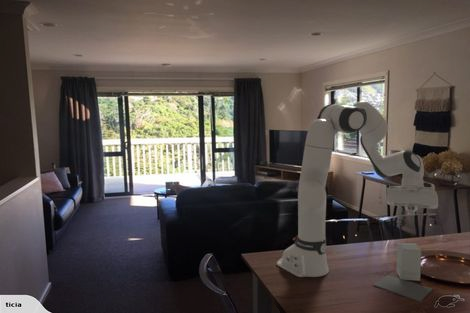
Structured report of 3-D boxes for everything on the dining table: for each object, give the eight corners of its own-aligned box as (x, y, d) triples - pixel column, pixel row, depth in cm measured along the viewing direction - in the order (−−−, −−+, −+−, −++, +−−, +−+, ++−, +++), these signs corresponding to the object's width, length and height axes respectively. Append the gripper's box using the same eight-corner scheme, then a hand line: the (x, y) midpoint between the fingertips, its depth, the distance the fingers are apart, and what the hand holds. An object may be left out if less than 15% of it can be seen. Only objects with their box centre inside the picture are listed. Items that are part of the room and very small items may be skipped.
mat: (373, 285, 138) (373, 284, 138) (387, 275, 146) (387, 274, 146) (420, 302, 126) (420, 300, 126) (432, 289, 134) (432, 288, 134)
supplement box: (420, 281, 141) (422, 250, 139) (400, 279, 142) (401, 249, 141) (415, 272, 148) (416, 243, 146) (395, 271, 149) (396, 242, 148)
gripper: (386, 181, 163) (384, 208, 155) (438, 184, 154) (438, 213, 146) (387, 189, 167) (384, 215, 160) (437, 193, 158) (437, 220, 151)
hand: (410, 214), depth 153 cm, fingers closed
